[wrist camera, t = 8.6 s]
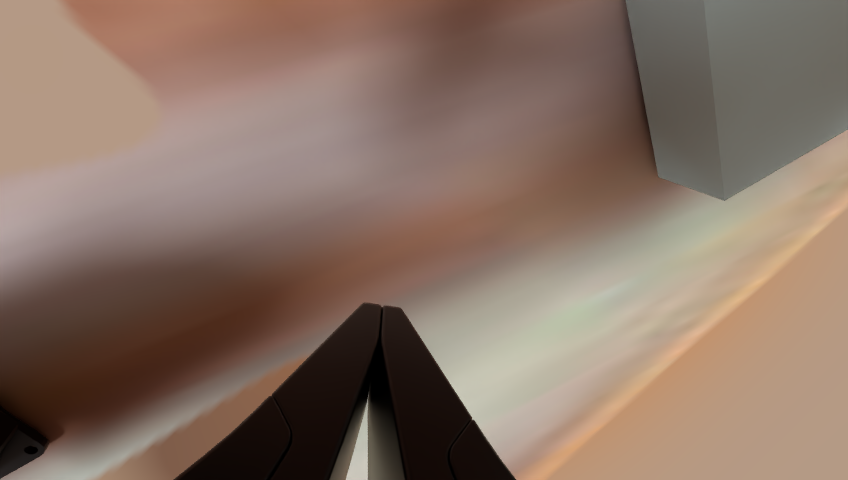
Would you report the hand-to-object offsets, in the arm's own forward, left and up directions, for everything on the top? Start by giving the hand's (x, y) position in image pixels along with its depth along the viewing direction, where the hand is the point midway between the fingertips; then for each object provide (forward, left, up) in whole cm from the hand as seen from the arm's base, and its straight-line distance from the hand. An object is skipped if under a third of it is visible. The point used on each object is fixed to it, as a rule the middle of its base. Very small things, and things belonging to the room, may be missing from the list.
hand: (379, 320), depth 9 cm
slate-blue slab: (+15, -3, -9) cm, 17 cm away
